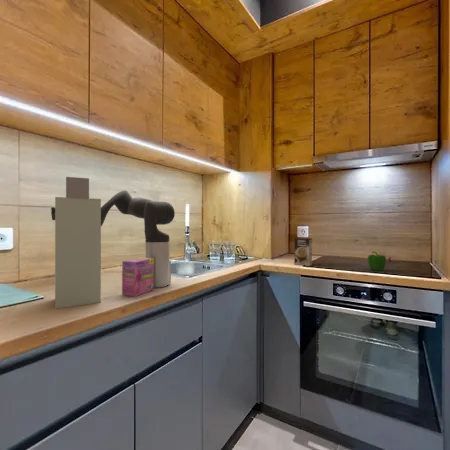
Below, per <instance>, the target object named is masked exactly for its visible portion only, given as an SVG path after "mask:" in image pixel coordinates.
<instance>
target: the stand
mask: <svg viewBox="0 0 450 450" xmlns="http://www.w3.org/2000/svg"><path fill="white" fill-rule="evenodd" d="M54 199H55V200H54V201H55V202H54V204H55V205H54V208H55V220H54V229H55V231H54V233H55V234H54V242H55V243H54V251H55V252H54V254H55V255H54V259H55V262H54V264H55V265H54V267H55V268H54V269H55V270H54V271H55V272H54V274H55V275H54V280H55V281H54V285H55V286H54V287H55V288H54V289H55V290H54V297H55V298H54V304H55V306H54V307H55V309H60V308H69V307H76V306H84V305H85V306H86V305H90V304H91V305H92V304H99V303H101V302H102V301H101V300H102V299H101V296H102V289H101V288H102V280H101V279H102V278H101V276H102V275H101V274H102V273H101V271H102V270H101V268H102V255H101V254H102V251H101V250H102V248H101V246H102V234H101V233H102V231H101V230H102V229H101V228H102V226H101V207H102V206H101V205H102V200H101V199H102V198H90V197H89V198H67V197H66V196H65V197H63V196H62V197H61V196H55V198H54Z"/></svg>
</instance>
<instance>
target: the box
mask: <svg viewBox="0 0 450 450" xmlns="http://www.w3.org/2000/svg"><path fill="white" fill-rule="evenodd" d="M121 265H122V269H121V270H122V273H121V279H122V280H121V287H122V288H121V295H122V296H127V297H137V296H140V295H143V294H145V293H148V292H151V291H153V290H154V287H153V267H154V258H146V257H138V258H133V259H127V260H122V264H121Z"/></svg>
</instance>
